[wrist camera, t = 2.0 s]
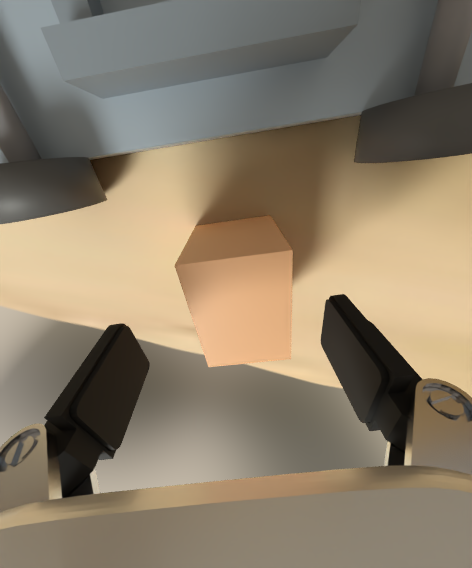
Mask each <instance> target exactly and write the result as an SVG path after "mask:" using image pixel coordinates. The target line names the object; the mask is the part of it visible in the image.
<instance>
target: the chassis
mask: <svg viewBox="0 0 472 568" xmlns="http://www.w3.org/2000/svg"><path fill="white" fill-rule="evenodd" d="M357 115H361V119H360V126H359V132H358V139H357V145H356V152H355V159H354V162H356V163H383V162H399V161H411V160H422V159H431V158H440V157H449V156H457V155H464V154H470V153H472V0H0V224H5V223H12V222H18V221H24V220H29V219H35V218H40V217H45V216H49V215H54V214H59V213H63V212H67V211H72V210H76V209H80V208H84V207H87V206H91V205H94V204H98V203H101V202H103V201H106V200H107V198H106V196H105V193H104V191H103V189H102V187H101V184H100V182H99V180H98V178H97V175H96V173H95V171H94V169H93V167H92V164H91V162H90V160H92V159H98V158H105V157H111V156H117V155H123V154H129V153H135V152H141V151H147V150H153V149H159V148H165V147H171V146H177V145H183V144H189V143H195V142H201V141H207V140H213V139H219V138H225V137H231V136H237V135H243V134H249V133H255V132H261V131H267V130H273V129H279V128H285V127H291V126H297V125H303V124H309V123H315V122H321V121H327V120H333V119H339V118H345V117H351V116H357Z"/></svg>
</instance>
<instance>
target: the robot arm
mask: <svg viewBox="0 0 472 568" xmlns="http://www.w3.org/2000/svg"><path fill="white" fill-rule="evenodd" d="M321 345H322V347H323V350H324V351H325V353H326V355H327V357H328V359H329V361H330V363H331V365H332V367H333V369H334V371H335V373H336V375H337V377H338V379H339V381H340V383H341V385H342V387H343V389H344V391H345V393H346V394H347V397H348V399H349V401H350V403H351V405H352V406H353V408H354V411H355V412H356V414H357V416H358V418H359V420H360V421H361V422H362V423H366V425H367V427H368V429H369V431H376V430H381V432H382V434H383V435H384V437H385V439H386V440H387V447H386V455H385V462H384V466H379V467H366V468H352V469H340V470H339V469H338V470H327V471H317V472H306V473H296V474H285V475H275V476H265V477H254V478H245V479H234V480H224V481H214V482H204V483H195V484H185V485H175V486H165V487H156V488H146V489H137V490H127V491H119V492H109V493H101V492H100V488H99V484H98V479H97V474H96V469H95V466H96V463H97V461H98V459H99V460H104V459H113V457H114V454H115V451H116V449H118V448H119V447H120V445H121V443H122V441H123V438H124V435H125V432H126V430H127V427H128V424H129V421H130V419H131V416H132V413H133V411H134V408H135V405H136V402H137V400H138V397H139V394H140V392H141V389H142V386H143V383H144V381H145V378H146V375H147V373H148V370H149V361H148V359H147V357H146V356H145V354H144V352H143V350H142V349H141V347H140V345H139V343H138V342H137V340H136V338H135V336H134V335H133V333H132V331H131V329H130V328H129V327H128V326H126V325H125V324H115V325H110V326H109V327H108V328H107V329H106V330H105V332H104V333H103V335H102V336H101V338H100V339H99V341H98V342H97V343H96V345H95V346H94V348H93V349H92V350H91V352H90V353H89V355H88V356H87V358H86V359H85V360H84V362H83V363H82V365H81V366H80V368H79V369H78V370H77V372H76V373H75V375H74V376H73V377H72V379H71V380H70V382H69V383H68V385H67V386H66V388H65V389H64V390H63V392H62V393H61V395H60V396H59V397H58V399H57V400H56V402H55V403H54V405H53V406H52V407H51V409H50V410H49V412H48V413H47V414H46V416H45V417H44V418H45V419H47V420H48V421H47V422H46V424H45V425H42V424H33V425H30V426H27V427H25V428H23V429H21V430H20V431H18V432H17V433H16V434H14V435H13V436H11V437H10V438H9V439H8V440H7V441H6V442H5V443H4V444H3V445H2V446H1V447H0V568H472V397H470V396H469V395H468V394H467V393H466V392H464V391H463V390H461V389H460V388H458V387H457V386H455V385H452V384H450V383H448V382H446V381H442V380H439V379H431V378H428V379H423V380H422V378H421V377H420V376H419V375H418V374H417V373H416V372H415V371H414V369H413V368H412V367H411V366H410V365H409V364H408V363H407V362H406V360H405V359H404V358H403V357H402V356H401V355H400V354H399V352H398V351H397V350H396V349H395V348H394V347H393V346H392V345H391V343H390V342H389V341H388V340H387V339H386V338H385V337H384V336H383V334H382V333H381V332H380V331H379V330H378V329H377V328H376V327H375V325H374V324H372V323H371V322H370V321H368V320H367V319H366V318H365V317H364V316H363V315H362V313H361V312H360V311H359V310H358V309H357V308H356V307H355V305H354V304H353V303H352V302H351V301H350V300H349V299H348V297H347V296H346V295H344V294H342V295H334V296H330V298H329V299H328V300H326V303H325V311H324V319H323V326H322V334H321Z"/></svg>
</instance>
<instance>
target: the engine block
mask: <svg viewBox="0 0 472 568" xmlns="http://www.w3.org/2000/svg"><path fill="white" fill-rule="evenodd" d="M292 263H293V250H292V248H291V247H290V245H289V244H288V242H287V241H286V239H285V237H284V236H283V234H282V233H281V231H280V230H279V228H278V227H277V225H276V224H275V222H274V221H273V219H272V217H271V216H270V215H268V216H261V217H254V218H247V219H240V220H232V221H225V222H218V223H211V224H204V225H197V226H195V228H194V230H193V232H192V234H191V236H190V238H189V240H188V241H187V243H186V245H185V247H184V249H183V251H182V253H181V255H180V256H179V258H178V260H177V262H176V264H175V268H176V271H177V274H178V277H179V280H180V283H181V286H182V289H183V292H184V295H185V298H186V301H187V304H188V307H189V310H190V313H191V316H192V319H193V322H194V325H195V328H196V331H197V334H198V337H199V340H200V343H201V346H202V349H203V352H204V355H205V358H206V361H207V364H208V367H214V366H225V365H235V364H245V363H255V362H265V361H275V360H285V359H291V325H292Z"/></svg>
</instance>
